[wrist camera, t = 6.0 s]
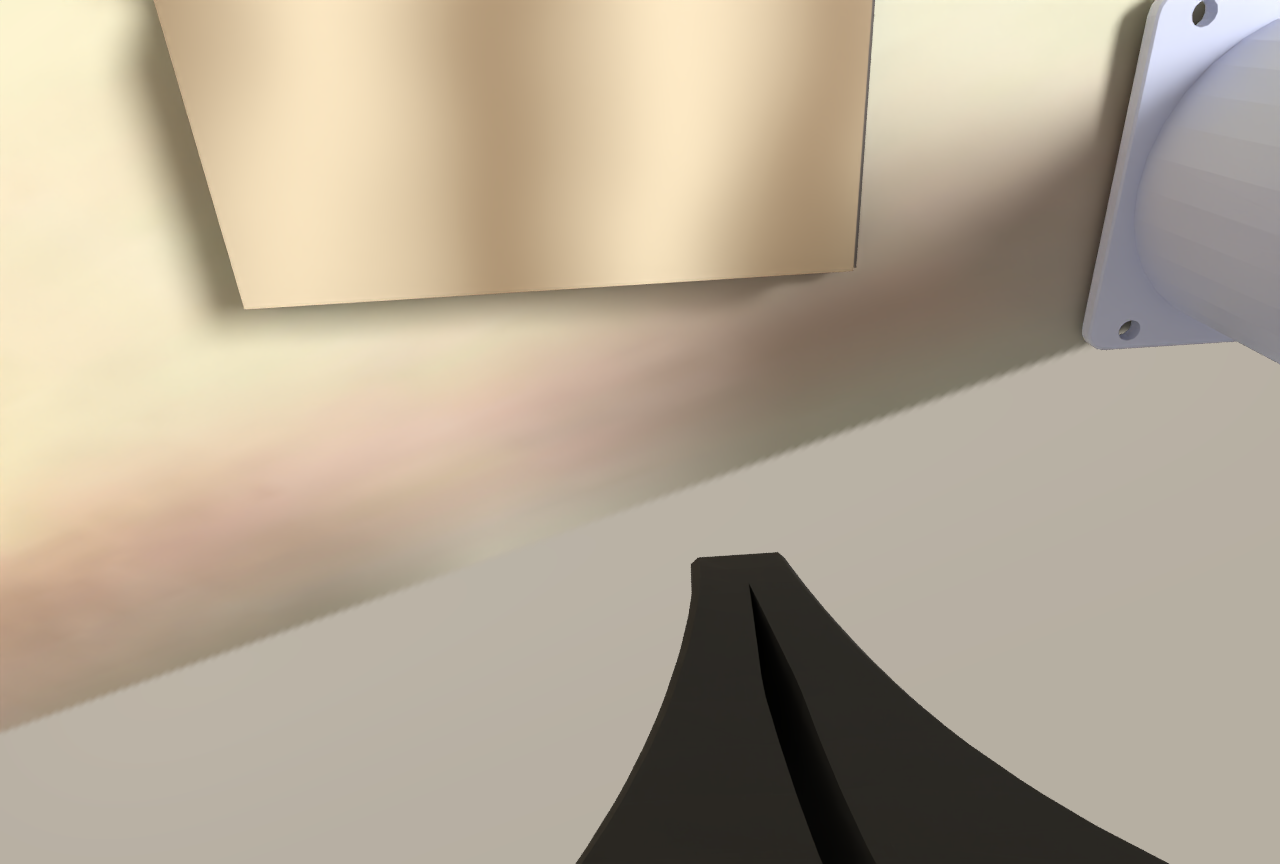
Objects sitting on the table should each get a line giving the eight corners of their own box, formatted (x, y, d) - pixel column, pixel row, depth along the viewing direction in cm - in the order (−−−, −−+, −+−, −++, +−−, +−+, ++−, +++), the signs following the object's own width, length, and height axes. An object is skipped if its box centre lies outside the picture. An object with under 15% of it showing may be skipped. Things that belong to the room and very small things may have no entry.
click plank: (856, -99, 16) (879, -108, 14) (835, 251, 19) (852, 271, 18) (174, -59, 16) (135, -64, 14) (269, 287, 19) (244, 309, 17)
